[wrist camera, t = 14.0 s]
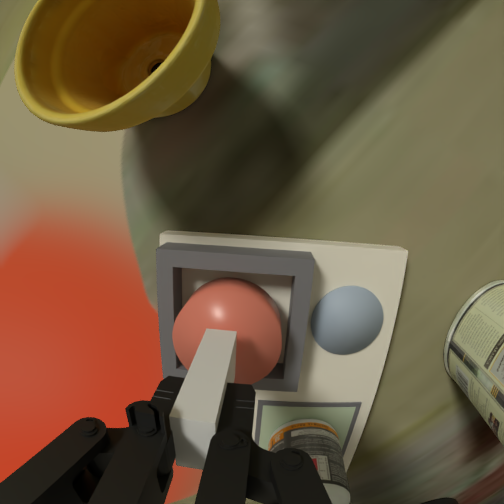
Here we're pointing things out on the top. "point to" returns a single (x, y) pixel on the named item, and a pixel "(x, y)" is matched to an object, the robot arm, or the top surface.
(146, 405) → the robot arm
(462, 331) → the coffee can
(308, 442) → the pill bottle
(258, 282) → the white control panel
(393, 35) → the top surface
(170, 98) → the plant pot
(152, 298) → the top surface
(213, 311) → the button
